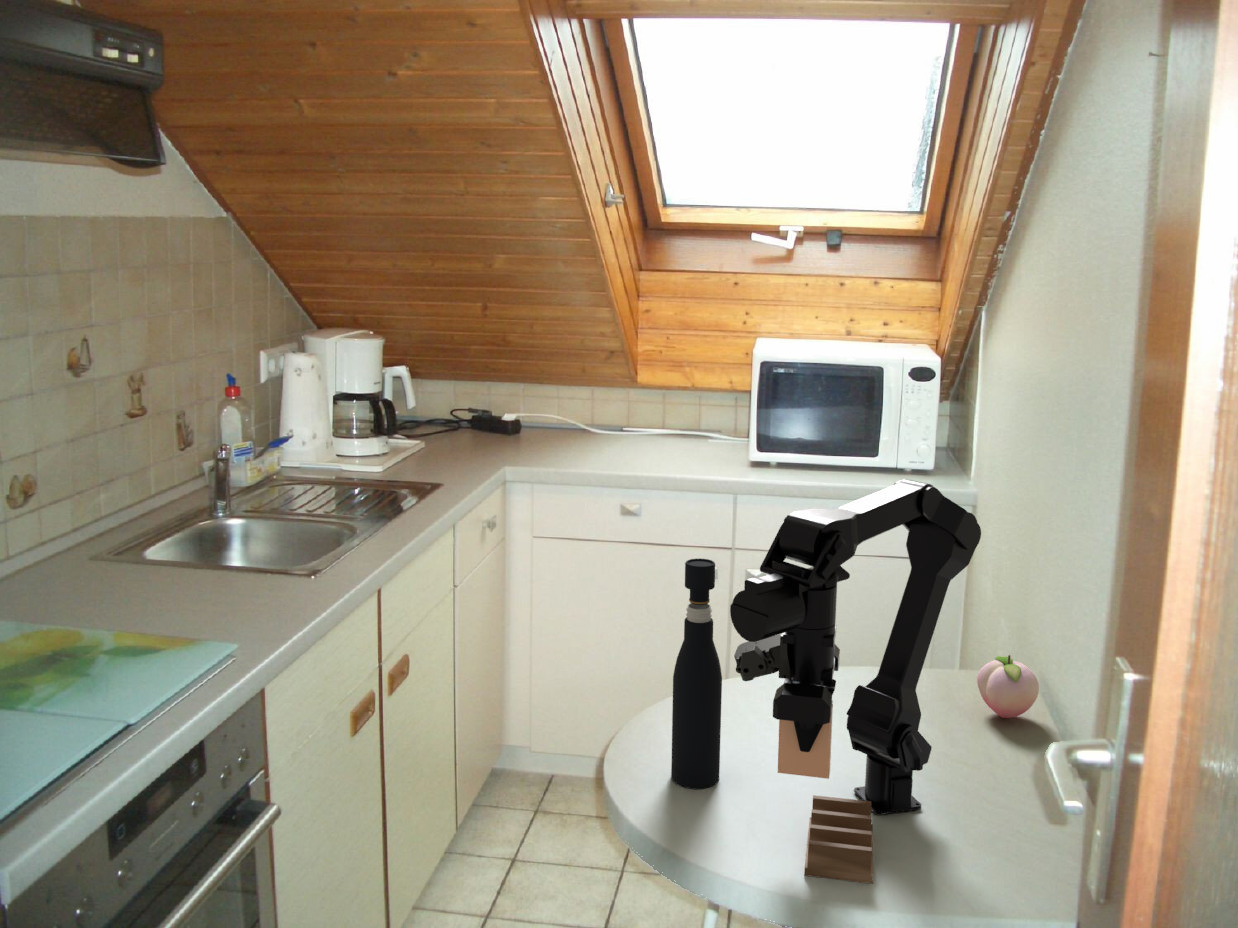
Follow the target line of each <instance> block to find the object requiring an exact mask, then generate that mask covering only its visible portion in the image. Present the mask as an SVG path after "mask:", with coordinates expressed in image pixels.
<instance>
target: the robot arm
mask: <svg viewBox="0 0 1238 928" xmlns="http://www.w3.org/2000/svg"><path fill="white" fill-rule="evenodd" d="M976 517H977V516H975V515H974V514H973V513H972V512H968V511H967V510H966V509H965V508H963V507H962V506H960V505H959V504H957V503H956V502H954V501H953V500H951V499H950V498H948V497H946V496H945V495H944V494H943V493H942V492H941V491H940V490H939V489H938V488H937V487H935V486H934V485H932V484H931V483H926V482H921V481H917V480H913V479H908V478H905V479H900V480H897V481H896V482H894V483H893V485H891V486H888V487H886V488H883V489H880V490H879V491H876V492H873V493H872V494H869V495H866V496H864V497H861V498H859V499H856V500H853V501H851V502H849V503H846V504H844V505H842V506H838V507H835V508H834V507H833V508H813V507H812V508H808V509H800V510H794V511H792V512H791V513H789V514H787V516H786V517H784V519H783V522H782V524H781V525H780V527H779V529H778V531H777V534H776V535H775V537H774V539H773V541H772V543H771V545H770V546H769V549H768V551H767V553H766V554H765V557H764V559H763V561H762V562H761V565H760V567H759V571H760V572H761V573H764V574H767V575H763V576H760V577H750V578H746V579H745V580H744V585H743V586H744V589H743V590H740V591H738V592H737V594H735V595H734V598H733V600H732V603H731V604H730V608H729V609H730V611H729V613H730V619H731V622H732V626H733V628H734V630H735V631H736V633H738V635H739V636H740V637H741V638H743V639H744V640H745V641H746V642H741V644H739V645H738V646H737V648H736V649H735V652H734V660H735V662H736V667H735V672H736V673H738V674H740V676H741V677H740V678H741V680H742V681H743V682H750V681H753V680H754V679H755V678H759V677H764V676H767V675H772V674H775V673H777V672H778V679H783V680H784V682H783V684H781V685H780V686H779V687H778V688H777V689H776V691H775V694H774V697H773V701H772V717H773V718H774V719H775V720H778V721H779V720H788V721H794V726H795V730H796V735H797V739H798V743H799V748H800V751H802V752H810V750H811V748H812V746H813V744H814V742H815V740H816V738H817V736H818V734H819V732H820V730H821V728H822V726H823V724H827V723H830V717H831V709H832V704H834V702H833V701H834V700H833V695H834V692H835V690H836V683H837V681H836V679H834V672H835V671H836V672H838V671H839V667H840V654H841V649H840V648H839V647H838V645H837V644H836V636H837V624H836V619H837V617H836V616H837V598H838V597H837V593H838V583H839V582H842V581H846V580H849V579H850V576H851V575H850V573H849V572H848V571H847V570H846V569H845V568H844V567H843V566H842V565H843V564H844V563H846V562H847V561H848V560H850V559H852V558H853V557H854V556H855V554H856V551H857V548H858V546H859V545H861V544H862V543H863V542H866V541H868V540H870V539H873V538H875V537H876V536H877V537H878V536H879V535H882V534H884V533H886V532H888V531H891V530H893V529H895V528H898V527H900V526H903V527H904V528H905V529H906V530H907V531H908V534H907V538H906V543H905V547H906V551H907V555H908V556H907V557H908V560H909V564H910V567H911V569H910V572H909V575H908V578H907V582H906V585H905V588H904V591H903V595H902V597H901V600H900V603H899V607H898V610H897V613H896V616H895V619H894V621H893V626H892V629H891V631H890V634H889V638H888V641H887V644H886V648H885V650H884V653H883V656H882V660H881V663H880V666H879V669H878V671H877V672H878V673H877V675H876V677H875V678H873V679H871V681H870V682H869V683H868V684H867V685H865V686H864V685H862V684H859V685H857V687H856V688H855V689H854V692H853V695H852V697H853V698H852V700H851V704H850V706H849V708H848V710H847V712H846V715H847V719H846V730H847V731H848V734H849V739H850V743H851V748H852V749H853V750H854V751H855V752H856V751H858V752H860V753H861V754H862V753H863V754H864V755H866V763H865V779H864V780H865V781H864V786H863V785H862V786H858V787H854V788H853V792H854V794H855V795H856V796H857V797H858V798H859V800H863V801H871V812H873V813H874V814H875V813H876V814H875V815H885V813H886V814H894V813H898V812H899V813H900V812H907V811H916V810H921V809H922V803H921V802H919V800H918V799H916V798H915V797H914V796H913V793H912V792H913V781H914V780H913V773H914V771H917V772H918V771H922V770H923V768H924V765H926V764H928V763H929V759H930V755H931V752H932V748H933V747H932V745H931V744H930V743H929V742H928V741H927V740H926V738H925V737H924V736H923V735H922V734H921V732H919V727H920V723H921V717H922V712H921V708H920V704H919V703H920V702H919V699H918V695H917V686H918V683H919V680H920V676H921V673H922V670H923V667H924V664H925V661H926V658H927V654H928V652H929V648H930V646H931V643H932V640H933V639H932V638H933V635H934V634H935V633H934V632H935V629H936V625H937V623H938V619H939V617H940V614H941V612H942V611H941V610H942V608H943V604H944V601H945V598H946V595H947V592H948V588H949V585H950V583H951V581H952V580H953V579H954V578H955V577H956V576H958V575H959V574H960V573H961V572H963V570H965V568H966V567H968V566H969V564H970V563H971V560H972V558H973V556H974V553H975V551H976V548H977V547H978V545H979V543H980V541H981V538H982V530H981V525H979V523H978V520H977V518H976ZM786 559H787V560H789V561H794V562H796V563H799V564H802V565H803V564H804V565H807V566H810V567H808V568H806V567H804V566H800V565H797V564H793V563H790V562H787V561H785V560H786Z"/></svg>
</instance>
